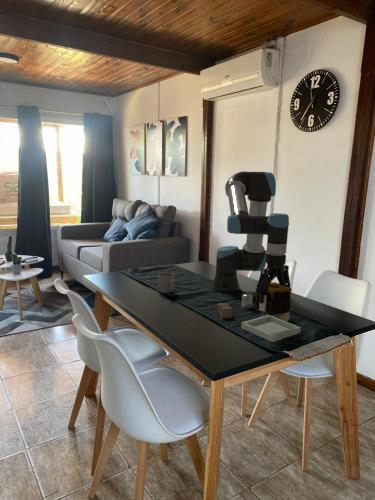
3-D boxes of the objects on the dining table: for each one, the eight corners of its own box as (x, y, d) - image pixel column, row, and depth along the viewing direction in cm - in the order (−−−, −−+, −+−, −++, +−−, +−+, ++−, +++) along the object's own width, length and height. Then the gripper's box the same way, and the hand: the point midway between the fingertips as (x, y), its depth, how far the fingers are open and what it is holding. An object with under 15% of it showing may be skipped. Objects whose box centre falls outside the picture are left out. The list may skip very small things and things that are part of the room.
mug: (154, 290, 196) (154, 273, 194) (168, 288, 201) (169, 271, 199) (165, 297, 186) (165, 278, 184) (180, 294, 191) (180, 276, 189)
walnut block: (217, 312, 167) (217, 303, 167) (226, 312, 168) (227, 303, 168) (221, 318, 161) (222, 308, 160) (231, 317, 162) (232, 308, 161)
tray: (241, 328, 150) (241, 322, 150) (268, 319, 160) (268, 314, 160) (272, 342, 138) (273, 336, 137) (300, 333, 147) (300, 327, 147)
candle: (270, 316, 140) (272, 291, 138) (253, 308, 149) (255, 284, 147) (290, 312, 145) (292, 288, 143) (273, 304, 154) (275, 281, 152)
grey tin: (239, 306, 176) (239, 294, 175) (246, 304, 179) (247, 292, 178) (246, 309, 172) (247, 297, 171) (254, 307, 175) (254, 295, 174)
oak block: (273, 320, 160) (274, 309, 159) (277, 317, 164) (278, 306, 163) (285, 323, 157) (286, 312, 156) (288, 319, 161) (289, 309, 160)
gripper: (263, 258, 133) (259, 316, 137) (302, 252, 147) (298, 305, 151) (248, 254, 139) (244, 310, 143) (287, 249, 153) (283, 300, 157)
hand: (272, 308), depth 147 cm, fingers closed on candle, 11 cm apart
